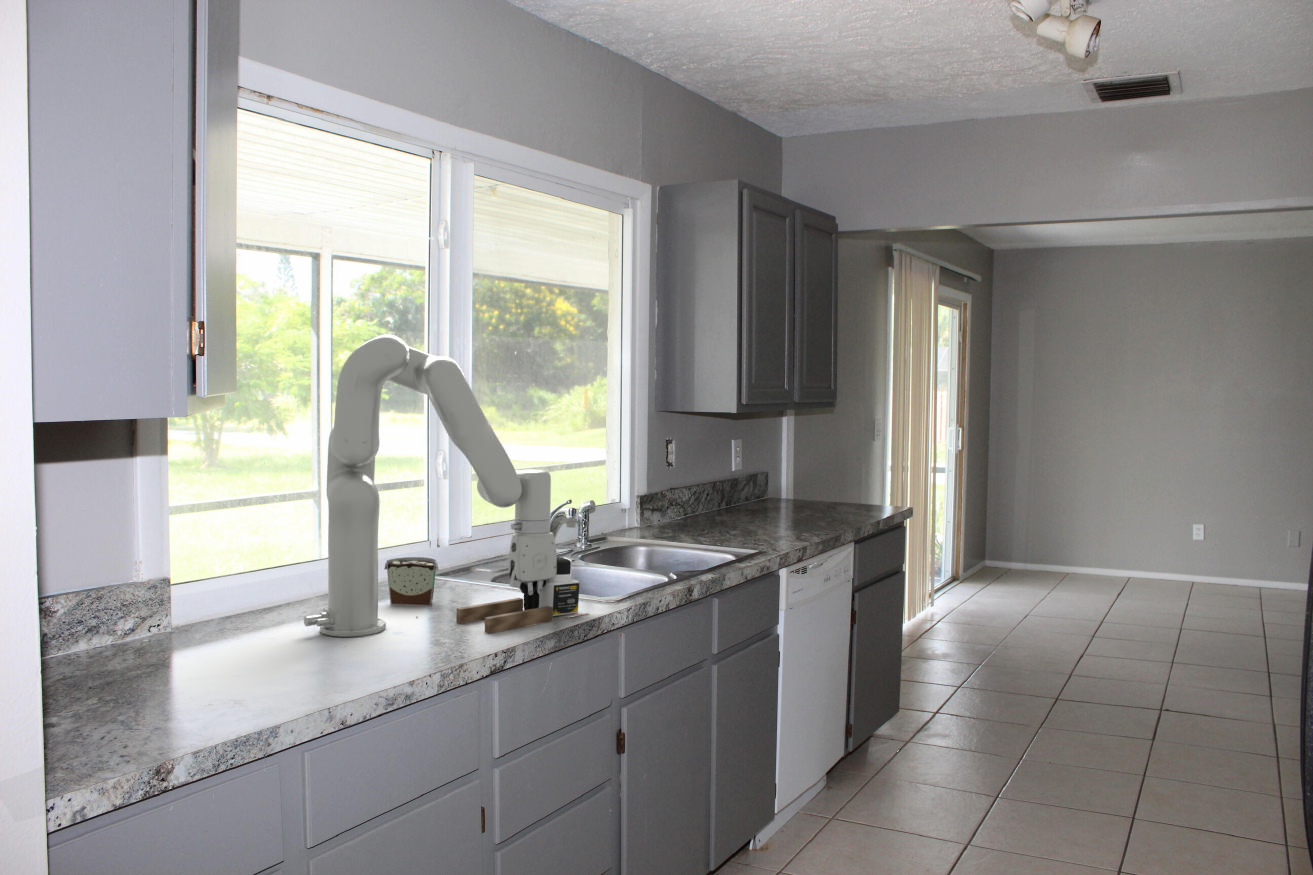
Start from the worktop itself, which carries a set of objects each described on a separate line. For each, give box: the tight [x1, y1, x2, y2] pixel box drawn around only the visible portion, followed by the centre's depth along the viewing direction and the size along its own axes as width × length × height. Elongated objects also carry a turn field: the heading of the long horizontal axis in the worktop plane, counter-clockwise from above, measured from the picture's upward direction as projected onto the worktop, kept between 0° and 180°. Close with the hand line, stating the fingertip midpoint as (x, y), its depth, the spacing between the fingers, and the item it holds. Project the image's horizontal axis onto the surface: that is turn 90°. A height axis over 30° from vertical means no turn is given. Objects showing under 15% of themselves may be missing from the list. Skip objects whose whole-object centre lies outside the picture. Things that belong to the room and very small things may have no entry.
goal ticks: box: [565, 612, 590, 619], centre depth 211 cm, size 6×12×1 cm, turn 44°
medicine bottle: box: [539, 556, 580, 617], centre depth 209 cm, size 7×7×12 cm
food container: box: [384, 556, 440, 607], centre depth 217 cm, size 12×6×10 cm, turn 84°
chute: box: [455, 597, 554, 635], centre depth 200 cm, size 16×12×3 cm
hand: (531, 611), depth 205 cm, fingers closed
